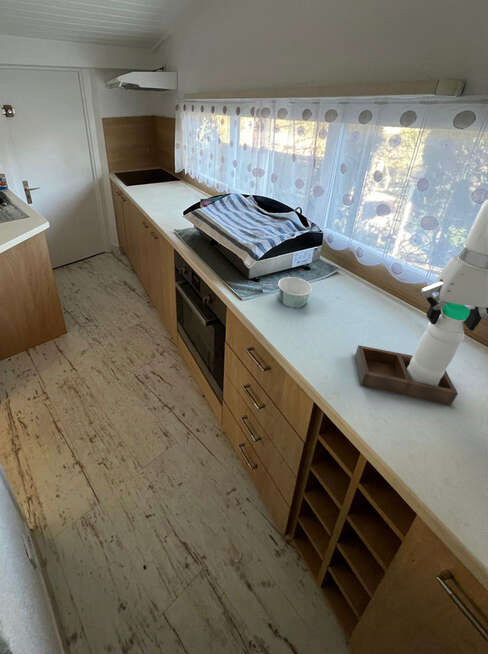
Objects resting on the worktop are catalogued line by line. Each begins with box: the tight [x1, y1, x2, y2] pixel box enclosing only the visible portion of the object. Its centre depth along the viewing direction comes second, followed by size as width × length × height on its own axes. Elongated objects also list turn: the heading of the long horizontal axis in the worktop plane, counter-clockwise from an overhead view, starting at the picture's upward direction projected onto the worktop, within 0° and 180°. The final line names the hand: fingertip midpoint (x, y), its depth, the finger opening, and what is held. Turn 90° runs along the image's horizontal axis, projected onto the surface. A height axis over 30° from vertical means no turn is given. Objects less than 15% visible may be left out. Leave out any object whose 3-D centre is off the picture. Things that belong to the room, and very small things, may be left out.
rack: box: [354, 344, 459, 407], centre depth 82 cm, size 20×11×5 cm, turn 72°
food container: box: [277, 276, 313, 308], centre depth 113 cm, size 12×12×6 cm
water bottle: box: [407, 303, 470, 386], centre depth 75 cm, size 7×7×25 cm
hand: (449, 323), depth 72 cm, fingers open, 6 cm apart
